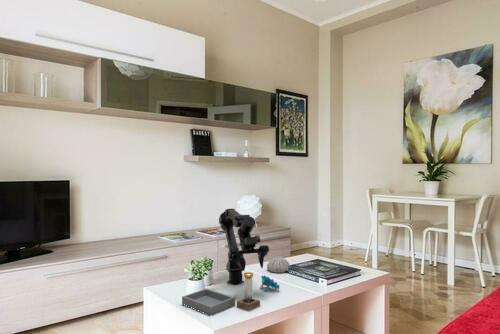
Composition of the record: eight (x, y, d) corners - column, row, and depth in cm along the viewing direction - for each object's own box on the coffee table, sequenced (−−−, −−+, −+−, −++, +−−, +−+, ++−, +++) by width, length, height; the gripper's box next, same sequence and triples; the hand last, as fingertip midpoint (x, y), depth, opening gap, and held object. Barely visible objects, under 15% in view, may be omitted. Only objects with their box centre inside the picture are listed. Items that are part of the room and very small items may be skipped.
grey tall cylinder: (241, 306, 150) (241, 273, 150) (247, 304, 153) (247, 271, 153) (248, 309, 147) (248, 275, 148) (255, 306, 150) (255, 273, 151)
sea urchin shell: (293, 273, 199) (293, 259, 199) (269, 274, 196) (269, 260, 196) (286, 267, 212) (286, 253, 212) (264, 268, 209) (264, 254, 209)
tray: (182, 304, 152) (182, 296, 152) (206, 296, 163) (206, 288, 163) (210, 316, 141) (210, 307, 141) (234, 305, 151) (234, 297, 151)
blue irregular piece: (284, 288, 169) (271, 275, 166) (278, 298, 166) (264, 286, 163) (270, 285, 178) (257, 272, 175) (264, 295, 175) (251, 283, 172)
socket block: (236, 307, 150) (236, 301, 150) (247, 302, 155) (247, 296, 155) (249, 311, 145) (249, 305, 145) (260, 306, 151) (260, 300, 151)
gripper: (229, 230, 159) (236, 261, 149) (268, 228, 165) (277, 258, 156) (225, 243, 167) (231, 273, 157) (261, 240, 173) (270, 270, 163)
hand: (252, 268), depth 158 cm, fingers open, 9 cm apart
